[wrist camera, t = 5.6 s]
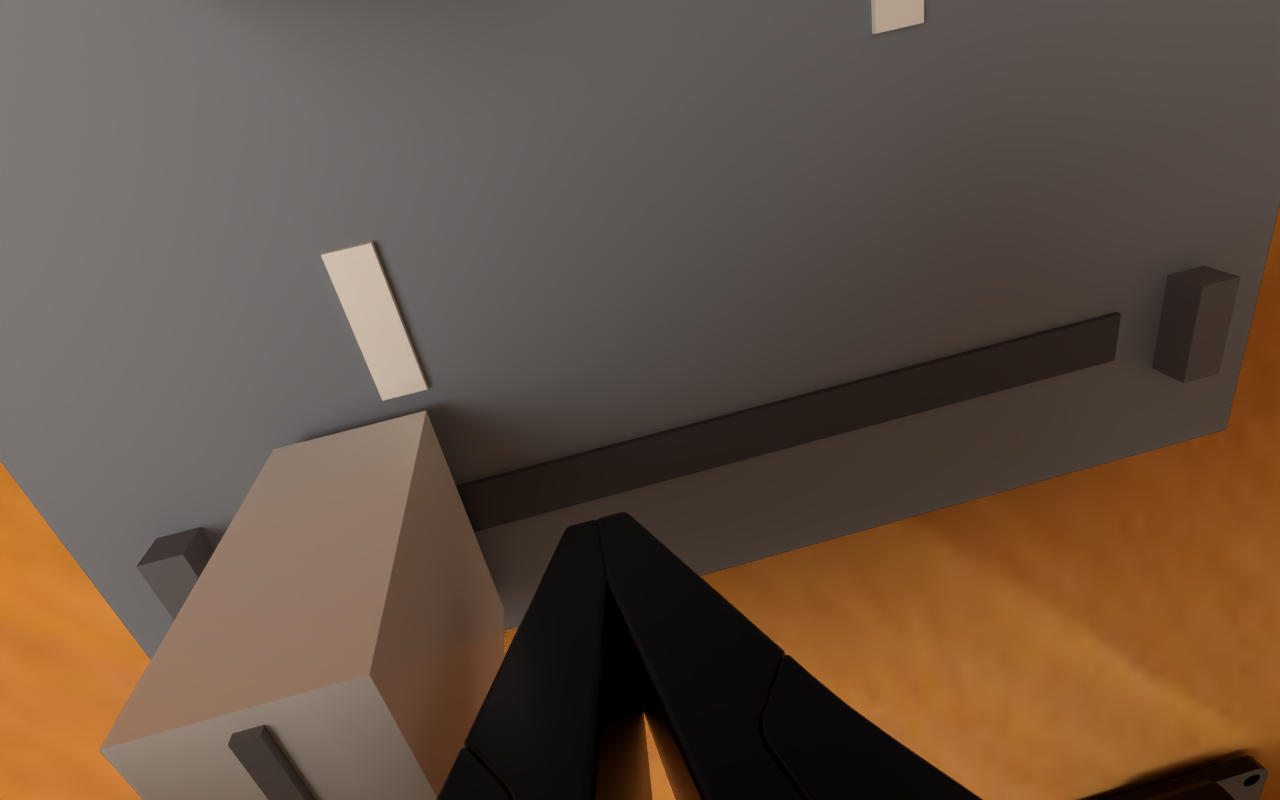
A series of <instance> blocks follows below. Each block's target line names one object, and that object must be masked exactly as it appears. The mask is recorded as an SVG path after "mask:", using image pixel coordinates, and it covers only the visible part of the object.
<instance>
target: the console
mask: <svg viewBox="0 0 1280 800" xmlns="http://www.w3.org/2000/svg"><path fill="white" fill-rule="evenodd" d="M1279 206H1280V0H0V461H1V462H2V464H3V465H4V466H5V468H6V469H7V470H8V472H9V473H10V474H11V476H12V477H13V478H14V480H15V481H16V482H17V484H18V485H19V486H20V488H21V489H22V490H23V492H24V493H25V494H26V496H27V497H28V498H29V500H30V501H31V502H32V503H33V505H34V506H35V507H36V509H37V510H38V511H39V513H40V514H41V515H42V517H43V518H44V519H45V521H46V522H47V523H48V525H49V526H50V527H51V529H52V530H53V531H54V533H55V534H56V535H57V537H58V538H59V539H60V541H61V542H62V543H63V545H64V546H65V547H66V548H67V550H68V551H69V552H70V554H71V555H72V556H73V558H74V559H75V560H76V562H77V563H78V564H79V566H80V567H81V568H82V570H83V571H84V572H85V574H86V575H87V576H88V578H89V579H90V580H91V582H92V583H93V584H94V586H95V587H96V588H97V589H98V591H99V592H100V593H101V595H102V596H103V597H104V599H105V600H106V601H107V603H108V604H109V605H110V607H111V608H112V609H113V611H114V612H115V613H116V615H117V616H118V617H119V619H120V620H121V621H122V623H123V624H124V625H125V627H126V628H127V629H128V631H129V632H130V633H131V634H132V636H133V637H134V638H135V640H136V641H137V642H138V644H139V645H140V646H141V648H142V649H143V650H144V652H145V653H146V654H147V656H148V657H149V658H150V660H152V658H153V656H154V654H155V653H156V651H157V649H158V648H159V646H160V644H161V642H162V641H163V639H164V637H165V636H166V634H167V632H168V630H169V629H170V627H171V625H172V623H173V622H174V620H175V618H176V617H177V615H178V613H179V611H180V610H181V608H182V606H183V605H184V603H185V601H186V599H187V598H188V596H189V594H190V592H191V591H192V589H193V587H194V586H195V584H196V582H197V580H198V579H199V577H200V575H201V573H202V572H203V570H204V568H205V567H206V565H207V563H208V561H209V560H210V558H211V556H212V555H213V553H214V551H215V549H216V548H217V546H218V544H219V542H220V541H221V539H222V537H223V536H224V534H225V532H226V530H227V529H228V527H229V525H230V524H231V522H232V520H233V518H234V517H235V515H236V513H237V511H238V510H239V508H240V506H241V505H242V503H243V501H244V499H245V498H246V496H247V494H248V493H249V491H250V489H251V487H252V486H253V484H254V482H255V480H256V479H257V477H258V475H259V474H260V472H261V470H262V468H263V467H264V465H265V463H266V461H267V460H268V458H269V456H270V455H271V453H272V451H273V449H277V448H281V447H285V446H289V445H293V444H297V443H301V442H305V441H308V440H312V439H316V438H320V437H324V436H328V435H332V434H336V433H340V432H344V431H348V430H352V429H356V428H359V427H363V426H367V425H371V424H375V423H379V422H383V421H387V420H391V419H395V418H399V417H403V416H407V415H410V414H414V413H418V412H422V411H427V414H428V416H429V419H430V421H431V424H432V427H433V429H434V432H435V434H436V437H437V439H438V442H439V444H440V447H441V449H442V452H443V455H444V457H445V460H446V462H447V465H448V467H449V470H450V472H451V475H452V478H453V480H454V483H455V485H456V488H457V490H458V493H459V495H460V498H461V501H462V503H463V506H464V508H465V511H466V513H467V516H468V518H469V521H470V523H471V526H472V529H473V531H474V534H475V536H476V539H477V541H478V544H479V546H480V549H481V552H482V554H483V557H484V559H485V562H486V564H487V567H488V569H489V572H490V575H491V577H492V580H493V582H494V585H495V587H496V590H497V592H498V595H499V597H500V600H501V603H502V605H503V608H504V630H507V629H511V628H515V627H518V626H520V624H521V621H522V619H523V617H524V615H525V613H526V611H527V609H528V607H529V605H530V602H531V600H532V598H533V596H534V594H535V592H536V590H537V588H538V586H539V583H540V581H541V579H542V577H543V575H544V573H545V571H546V569H547V567H548V565H549V562H550V560H551V558H552V556H553V554H554V552H555V550H556V548H557V546H558V543H559V541H560V539H561V537H562V535H563V533H564V531H565V529H566V528H567V527H569V526H572V525H575V524H579V523H583V522H587V521H590V520H596V521H597V519H599V518H602V517H605V516H609V515H613V514H616V513H620V512H626V513H628V514H630V515H631V516H632V517H633V518H634V519H635V520H636V521H638V522H639V523H640V524H641V525H642V526H643V527H644V528H645V529H647V530H648V531H649V532H650V533H651V534H652V535H653V536H655V537H656V538H657V539H658V540H659V541H660V542H661V543H662V544H664V545H665V546H666V547H667V548H668V549H669V550H670V551H672V552H673V553H674V554H675V555H676V556H677V557H678V558H679V559H681V560H682V561H683V562H684V563H685V564H686V565H687V566H688V567H690V568H691V569H692V570H693V571H694V572H695V573H696V574H698V575H699V576H702V575H705V574H709V573H712V572H716V571H720V570H723V569H727V568H730V567H734V566H738V565H741V564H745V563H748V562H752V561H755V560H759V559H763V558H766V557H770V556H773V555H777V554H781V553H784V552H788V551H791V550H795V549H799V548H802V547H806V546H809V545H813V544H817V543H820V542H824V541H827V540H831V539H835V538H838V537H842V536H845V535H849V534H853V533H856V532H860V531H863V530H867V529H871V528H874V527H878V526H881V525H885V524H889V523H892V522H896V521H899V520H903V519H907V518H910V517H914V516H917V515H921V514H925V513H928V512H932V511H935V510H939V509H943V508H946V507H950V506H953V505H957V504H960V503H964V502H968V501H971V500H975V499H978V498H982V497H986V496H989V495H993V494H996V493H1000V492H1004V491H1007V490H1011V489H1014V488H1018V487H1022V486H1025V485H1029V484H1032V483H1036V482H1040V481H1043V480H1047V479H1050V478H1054V477H1058V476H1061V475H1065V474H1068V473H1072V472H1076V471H1079V470H1083V469H1086V468H1090V467H1094V466H1097V465H1101V464H1104V463H1108V462H1112V461H1115V460H1119V459H1122V458H1126V457H1130V456H1133V455H1137V454H1140V453H1144V452H1148V451H1151V450H1155V449H1158V448H1162V447H1165V446H1169V445H1173V444H1176V443H1180V442H1183V441H1187V440H1191V439H1194V438H1198V437H1201V436H1205V435H1209V434H1212V433H1216V432H1219V431H1223V430H1226V427H1227V423H1228V419H1229V415H1230V411H1231V407H1232V402H1233V398H1234V394H1235V390H1236V386H1237V381H1238V377H1239V373H1240V369H1241V365H1242V360H1243V356H1244V352H1245V348H1246V344H1247V340H1248V335H1249V331H1250V327H1251V323H1252V319H1253V314H1254V310H1255V306H1256V302H1257V298H1258V294H1259V289H1260V285H1261V281H1262V277H1263V273H1264V268H1265V264H1266V260H1267V256H1268V252H1269V248H1270V243H1271V239H1272V235H1273V231H1274V227H1275V222H1276V218H1277V214H1278V210H1279Z"/></svg>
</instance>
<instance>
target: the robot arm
mask: <svg viewBox="0 0 1280 800" xmlns="http://www.w3.org/2000/svg"><path fill="white" fill-rule="evenodd" d="M643 711H644V712H643ZM644 714H645V717H646V720H647V722H648V725H649V728H650V731H651V733H652V736H653V739H654V741H655V744H656V747H657V750H658V752H659V755H660V758H661V761H662V763H663V766H664V769H665V772H666V774H667V777H668V780H669V782H670V785H671V788H672V791H673V793H674V796H675V799H676V800H983V799H981V798H980V797H978V796H977V795H975V794H974V793H972V792H971V791H970V790H968V789H967V788H965V787H964V786H962V785H961V784H959V783H958V782H956V781H955V780H954V779H952V778H951V777H949V776H948V775H946V774H945V773H943V772H942V771H940V770H939V769H938V768H936V767H935V766H933V765H932V764H930V763H929V762H927V761H926V760H924V759H923V758H922V757H920V756H919V755H917V754H916V753H914V752H913V751H911V750H910V749H908V748H907V747H906V746H904V745H903V744H901V743H900V742H898V741H897V740H895V739H894V738H893V737H891V736H890V735H888V734H887V733H886V732H884V731H883V730H881V729H880V728H879V727H877V726H876V725H875V724H873V723H872V722H870V721H869V720H868V719H866V718H865V717H864V716H862V715H861V714H859V713H858V712H857V711H855V710H854V709H853V708H851V707H850V706H849V705H847V704H846V703H845V702H844V701H842V700H841V699H840V698H839V697H838V696H836V695H835V694H834V693H833V692H832V691H830V690H829V689H828V688H827V687H825V686H824V685H823V684H822V683H821V682H819V681H818V680H817V679H816V678H815V677H813V676H812V675H811V674H810V673H809V672H808V671H807V670H805V669H804V668H803V667H802V666H801V665H800V664H799V663H798V662H796V661H795V660H794V659H793V658H792V657H791V656H789V655H785V652H784V651H783V650H782V649H781V648H780V647H779V646H778V645H777V644H776V643H774V642H773V641H772V640H771V639H770V638H769V637H768V636H767V635H765V634H764V633H763V632H762V631H761V630H760V629H759V628H757V627H756V626H755V625H754V624H753V623H752V622H751V621H750V620H748V619H747V618H746V617H745V616H744V615H743V614H742V613H741V612H739V611H738V610H737V609H736V608H735V607H734V606H733V605H731V604H730V603H729V602H728V601H727V600H726V599H725V598H724V597H722V596H721V595H720V594H719V593H718V592H717V591H716V590H715V589H713V588H712V587H711V586H710V585H709V584H708V583H707V582H705V581H704V580H703V579H702V578H701V577H700V576H699V575H698V574H696V573H695V572H694V571H693V570H692V569H691V568H690V567H688V566H687V565H686V564H685V563H684V562H683V561H682V560H681V559H679V558H678V557H677V556H676V555H675V554H674V553H673V552H672V551H670V550H669V549H668V548H667V547H666V546H665V545H664V544H662V543H661V542H660V541H659V540H658V539H657V538H656V537H655V536H653V535H652V534H651V533H650V532H649V531H648V530H647V529H645V528H644V527H643V526H642V525H641V524H640V523H639V522H638V521H636V520H635V519H634V518H633V517H632V516H631V515H630V514H628V513H626V512H620V513H616V514H613V515H609V516H605V517H602V518H599V519H597V521H596V520H590V521H587V522H583V523H579V524H575V525H572V526H569V527H567V528H566V529H565V531H564V533H563V535H562V537H561V539H560V541H559V543H558V546H557V548H556V550H555V552H554V554H553V556H552V558H551V560H550V562H549V565H548V567H547V569H546V571H545V573H544V575H543V577H542V579H541V581H540V583H539V586H538V588H537V590H536V592H535V594H534V596H533V598H532V600H531V602H530V605H529V607H528V609H527V611H526V613H525V615H524V617H523V619H522V621H521V624H520V626H519V628H518V630H517V632H516V634H515V636H514V638H513V640H512V643H511V645H510V647H509V649H508V651H507V653H506V655H505V657H504V659H503V661H502V664H501V666H500V668H499V670H498V672H497V674H496V676H495V678H494V680H493V683H492V685H491V687H490V689H489V691H488V693H487V695H486V697H485V699H484V702H483V704H482V706H481V708H480V710H479V712H478V714H477V716H476V718H475V721H474V723H473V725H472V727H471V729H470V731H469V733H468V735H467V737H466V739H465V742H464V746H465V748H462V749H461V750H460V751H459V753H458V755H457V758H456V760H455V762H454V764H453V766H452V768H451V770H450V772H449V775H448V777H447V779H446V781H445V783H444V785H443V787H442V789H441V791H440V793H439V795H438V797H437V799H436V800H652V790H651V781H650V771H649V761H648V751H647V742H646V732H645V722H644ZM1267 776H1268V771H1267V770H1266V769H1265V768H1264V767H1263V766H1262V765H1261V764H1260V763H1259V762H1257V761H1256V760H1255V759H1254V758H1253V757H1251V756H1245V757H1240V758H1237V759H1234V760H1231V761H1228V762H1224V763H1221V764H1218V765H1215V766H1212V767H1208V768H1205V769H1202V770H1199V771H1196V772H1192V773H1189V774H1186V775H1183V776H1180V777H1176V778H1173V779H1170V780H1167V781H1164V782H1160V783H1157V784H1154V785H1151V786H1148V787H1144V788H1141V789H1138V790H1135V791H1132V792H1128V793H1125V794H1122V795H1119V796H1116V797H1112V798H1109V799H1106V800H1259V797H1260V794H1261V792H1262V789H1263V786H1264V784H1265V781H1266V778H1267Z"/></svg>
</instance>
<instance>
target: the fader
mask: <svg viewBox="0 0 1280 800" xmlns="http://www.w3.org/2000/svg"><path fill="white" fill-rule="evenodd" d="M503 659H504V608H503V605H502V603H501V600H500V597H499V595H498V592H497V590H496V587H495V585H494V582H493V580H492V577H491V575H490V572H489V569H488V567H487V564H486V562H485V559H484V557H483V554H482V552H481V549H480V546H479V544H478V541H477V539H476V536H475V534H474V531H473V529H472V526H471V523H470V521H469V518H468V516H467V513H466V511H465V508H464V506H463V503H462V501H461V498H460V495H459V493H458V490H457V488H456V485H455V483H454V480H453V478H452V475H451V472H450V470H449V467H448V465H447V462H446V460H445V457H444V455H443V452H442V449H441V447H440V444H439V442H438V439H437V437H436V434H435V432H434V429H433V427H432V424H431V421H430V419H429V416H428V414H427V411H422V412H418V413H414V414H410V415H407V416H403V417H399V418H395V419H391V420H387V421H383V422H379V423H375V424H371V425H367V426H363V427H359V428H356V429H352V430H348V431H344V432H340V433H336V434H332V435H328V436H324V437H320V438H316V439H312V440H308V441H305V442H301V443H297V444H293V445H289V446H285V447H281V448H277V449H273V451H272V453H271V455H270V456H269V458H268V460H267V461H266V463H265V465H264V467H263V468H262V470H261V472H260V474H259V475H258V477H257V479H256V480H255V482H254V484H253V486H252V487H251V489H250V491H249V493H248V494H247V496H246V498H245V499H244V501H243V503H242V505H241V506H240V508H239V510H238V511H237V513H236V515H235V517H234V518H233V520H232V522H231V524H230V525H229V527H228V529H227V530H226V532H225V534H224V536H223V537H222V539H221V541H220V542H219V544H218V546H217V548H216V549H215V551H214V553H213V555H212V556H211V558H210V560H209V561H208V563H207V565H206V567H205V568H204V570H203V572H202V573H201V575H200V577H199V579H198V580H197V582H196V584H195V586H194V587H193V589H192V591H191V592H190V594H189V596H188V598H187V599H186V601H185V603H184V605H183V606H182V608H181V610H180V611H179V613H178V615H177V617H176V618H175V620H174V622H173V623H172V625H171V627H170V629H169V630H168V632H167V634H166V636H165V637H164V639H163V641H162V642H161V644H160V646H159V648H158V649H157V651H156V653H155V654H154V656H153V658H152V660H151V661H150V663H149V665H148V667H147V668H146V670H145V672H144V673H143V675H142V677H141V679H140V680H139V682H138V684H137V686H136V687H135V689H134V691H133V692H132V694H131V696H130V698H129V699H128V701H127V703H126V704H125V706H124V708H123V710H122V711H121V713H120V715H119V717H118V718H117V720H116V722H115V723H114V725H113V727H112V729H111V730H110V732H109V734H108V735H107V737H106V739H105V741H104V742H103V744H102V746H101V748H100V749H99V750H100V752H101V753H102V754H103V755H104V756H105V757H106V758H107V759H108V761H109V762H110V763H111V764H112V765H113V766H114V767H115V768H116V770H117V771H118V772H119V773H120V774H121V775H122V776H123V778H124V779H125V780H126V781H127V782H128V783H129V784H130V785H131V787H132V788H133V789H134V790H135V791H136V792H137V793H138V795H139V796H140V797H141V798H142V799H143V800H436V799H437V797H438V795H439V793H440V791H441V789H442V787H443V785H444V783H445V781H446V779H447V777H448V775H449V772H450V770H451V768H452V766H453V764H454V762H455V760H456V758H457V755H458V753H459V751H460V750H461V749H462V748H465V746H464V742H465V739H466V737H467V735H468V733H469V731H470V729H471V727H472V725H473V723H474V721H475V718H476V716H477V714H478V712H479V710H480V708H481V706H482V704H483V702H484V699H485V697H486V695H487V693H488V691H489V689H490V687H491V685H492V683H493V680H494V678H495V676H496V674H497V672H498V670H499V668H500V666H501V664H502V661H503Z"/></svg>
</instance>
